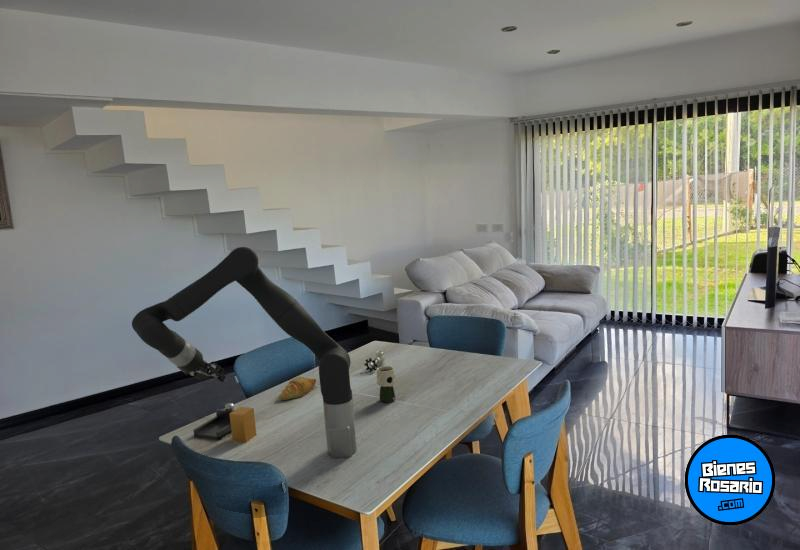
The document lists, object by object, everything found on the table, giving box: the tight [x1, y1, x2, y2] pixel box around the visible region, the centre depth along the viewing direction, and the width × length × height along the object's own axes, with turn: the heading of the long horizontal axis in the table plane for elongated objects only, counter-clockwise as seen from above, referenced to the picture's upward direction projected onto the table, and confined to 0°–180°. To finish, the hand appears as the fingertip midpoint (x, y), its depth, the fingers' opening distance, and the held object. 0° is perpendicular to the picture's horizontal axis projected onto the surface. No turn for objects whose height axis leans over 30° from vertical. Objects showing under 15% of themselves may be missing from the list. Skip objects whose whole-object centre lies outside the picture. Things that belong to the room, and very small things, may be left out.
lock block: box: [229, 406, 257, 444], centre depth 188 cm, size 6×6×10 cm
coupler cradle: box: [193, 402, 235, 441], centre depth 197 cm, size 15×11×7 cm
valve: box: [364, 350, 386, 373], centre depth 257 cm, size 7×7×12 cm
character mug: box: [376, 365, 396, 403], centre depth 214 cm, size 11×7×13 cm, turn 147°
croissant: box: [278, 377, 317, 401], centre depth 229 cm, size 21×10×8 cm, turn 147°
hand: (213, 378), depth 178 cm, fingers open, 8 cm apart
